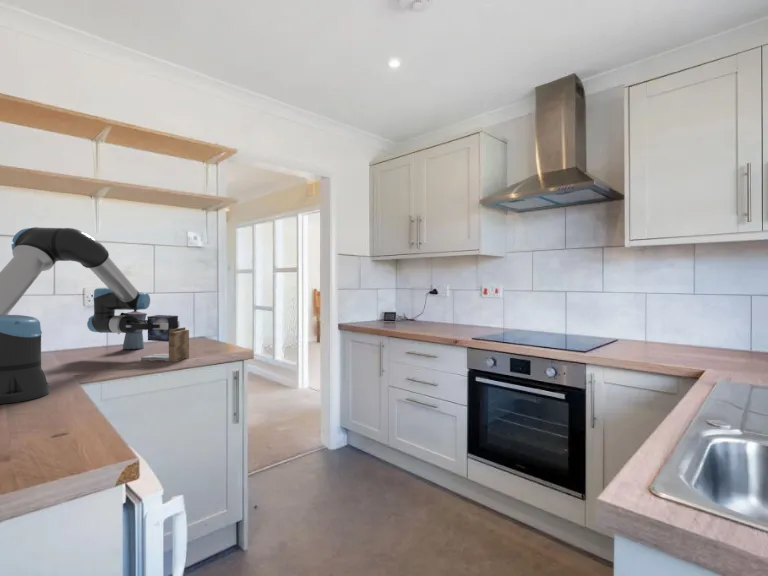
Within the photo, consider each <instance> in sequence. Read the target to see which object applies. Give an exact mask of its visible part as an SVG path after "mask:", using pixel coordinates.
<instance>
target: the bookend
mask: <svg viewBox="0 0 768 576" xmlns="http://www.w3.org/2000/svg"><path fill="white" fill-rule="evenodd" d="M186 357H188V358H190V330H189V329H186V327H184V326H183V327H179V328H177V329H172V330H169V342H168V353H154V354H153V353H152V354H149V355H145V356H142V357H141V358H140V361H147V360H165V361H164V362H171V361H173V363H174V362H178V361H181V360H184V359H183V358H185V359H187V358H186ZM180 359H181V360H180ZM177 360H178V361H177Z"/></svg>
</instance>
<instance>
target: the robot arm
mask: <svg viewBox="0 0 768 576" xmlns="http://www.w3.org/2000/svg"><path fill="white" fill-rule="evenodd" d="M11 241H12V242H13V243H12V244H11V251H12V256H13V257H12V258H11V259H10V260H9V262H8V263H6V265H5V266H4V267H3V268H2V269H1V271H0V405H2V404H3V405H4V404H12V403H19V402H25V401H31V400H35V399H38V398H42V397H45V396H46V395H48V394H49V393H50V383H49V382H48V381H47V378H46V376H45V375H46V374H45V373H44V371H43V369H42V368H43V367H42V334H43V333H42V332H43V331H42V330H41V328H42V327H41V321H40V320H39V319H38V318H36V317H34V316H29V315H24V314H23V315H20V314H9V313H11V311H12V310H13V308H14V307H15V305H16V304H17V303H19V301H20V300H21V298H22V297H23V296H24V294H25V293H26V292H27V291H28V289H30V287H31V286H32V284H33V283H34V282H35V280H37V278H38V277H39V276H40V274H41V273H42V272H47V271H50V270H51V269H52V267H53V266H54V265H55V264H56V263H57V262H59V261H60V262H66V261H67V262H69V261H70V262H77V263H79V264H80V265H81V266H82V267H84V268H85V269H90V270H91V272H93V273H94V274H95V276H96V277H97V278H98V279H99V280H100V281H101V282H102V283H103V284H104V285H105V287H102V288H101V287H100V288H99V287H98V288H95V289H94V291H93V315H91V316H90V317H89V318H88V320H87V322H86V323H87V324H86V325H87V329H88V330H89V331H90V332H93V333H99V334H100V333H101V334H102V333H105V334H107V333H108V334H109V333H111V334H116V333H117V335H120V334H121V333H122V334H126V333H134V332H135V331H136V330H143V331H148V329H149V331H152V328H153V329H159V330H168V323H153V324H152V323H148V319H145V320H137V318H136V317H135V316H122V315H120V314H119V315H115V313H116V311H119V310H120V311H121V310H122V311H124V310H128V311H134V310H137V311H139V310H147V309H148V308H149V307H150V304H151V296H150V295H149V293H147V292H143V291H141V292H140V291H139V290H137V288H136V287H135V286H134V285H133V284H132V282H131V281H130V280H129V279H128V278H127V277H126V275H125V274H124V273H123V272H122V270H121V269H120V268H119V267H118V266H117V265H116V263H115V262H114V261H113V260H112V259H111V258H110V257H109V256H110V253H109V251H108V249H106V247H105V246H104V245H103V244H102V243H101V242H99V241H98V240H97V239H96V238H94V237H93V236H92V235H90V234H88V233H86V232H84V231H82V230H79V229H77V228H76V229H75V228H73V227H72V228H71V227H62V228H61V227H37V226H35V227H28V228H23V229H21V230H18V232H17V233H15V235H14V236H13V237H12V240H11ZM178 328H180V320H178Z"/></svg>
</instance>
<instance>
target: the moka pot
mask: <svg viewBox="0 0 768 576" xmlns="http://www.w3.org/2000/svg"><path fill="white" fill-rule="evenodd" d="M119 315H122V316H135V317H136V318H137V320H147V318H146V317H147V315H148V313H146V312H141V311H139V310H132V311H128V312H121V313H120V314H119ZM143 331H144V330H136V331H135V332H134V333H124V334H125V335H124V339H123V344H122V350H140V349H144V347H145V345H144V336H143V335H144V334H143Z"/></svg>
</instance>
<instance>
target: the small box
mask: <svg viewBox="0 0 768 576" xmlns="http://www.w3.org/2000/svg"><path fill="white" fill-rule="evenodd" d="M146 317H147V318H146V319H147V320H148V323H152V324H153V323H168V330H159V329H153V328H152V331H149V329H148V330H147V341H150V342H151V341H152V342H153V341H154V342H166V343H167V342H168V343H169V330H172V329H177V328H178V321H179V315H170V314H168V315H165V314H156V315H151V316H146Z"/></svg>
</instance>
